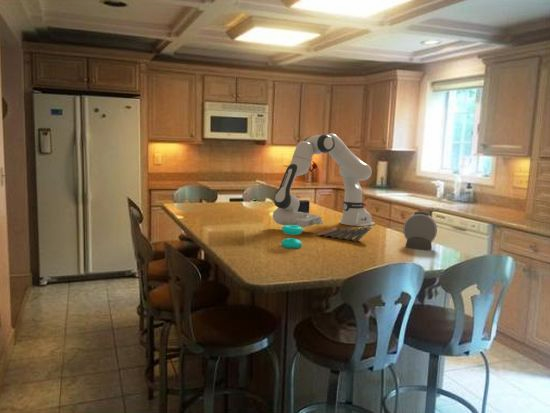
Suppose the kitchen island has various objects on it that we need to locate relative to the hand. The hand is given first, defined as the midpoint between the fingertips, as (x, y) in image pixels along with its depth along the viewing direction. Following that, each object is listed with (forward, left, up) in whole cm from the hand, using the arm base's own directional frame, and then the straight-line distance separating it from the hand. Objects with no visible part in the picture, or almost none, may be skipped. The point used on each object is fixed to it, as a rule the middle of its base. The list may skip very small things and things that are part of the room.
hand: (321, 222), depth 259 cm
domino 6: (-10, +18, -7) cm, 21 cm away
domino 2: (-2, +3, -6) cm, 7 cm away
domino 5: (-8, +14, -6) cm, 17 cm away
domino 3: (-4, +7, -6) cm, 10 cm away
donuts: (+30, +19, -7) cm, 36 cm away
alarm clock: (-32, +40, -7) cm, 52 cm away
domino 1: (+1, -1, -6) cm, 6 cm away
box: (-25, -61, -7) cm, 67 cm away
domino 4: (-6, +10, -6) cm, 14 cm away
